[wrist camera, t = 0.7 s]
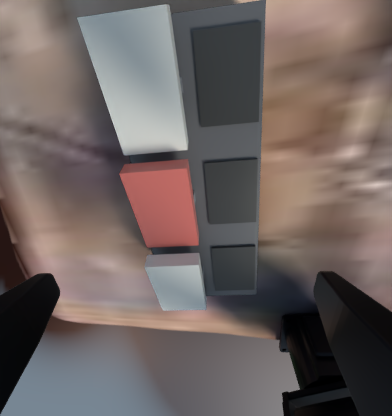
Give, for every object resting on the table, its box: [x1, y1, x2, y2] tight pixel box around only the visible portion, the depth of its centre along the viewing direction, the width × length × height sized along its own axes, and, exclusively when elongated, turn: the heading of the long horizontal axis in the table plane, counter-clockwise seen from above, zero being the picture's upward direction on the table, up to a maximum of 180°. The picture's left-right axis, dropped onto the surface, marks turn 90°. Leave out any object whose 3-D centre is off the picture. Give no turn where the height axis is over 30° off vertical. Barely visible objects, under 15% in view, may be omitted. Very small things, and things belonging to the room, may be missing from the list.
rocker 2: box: [145, 253, 206, 310], centre depth 17 cm, size 6×4×1 cm, turn 5°
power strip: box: [129, 0, 266, 296], centre depth 17 cm, size 19×8×5 cm, turn 6°
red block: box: [119, 159, 199, 248], centre depth 14 cm, size 6×4×1 cm, turn 5°
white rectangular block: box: [77, 4, 188, 155], centre depth 11 cm, size 6×4×1 cm, turn 5°
